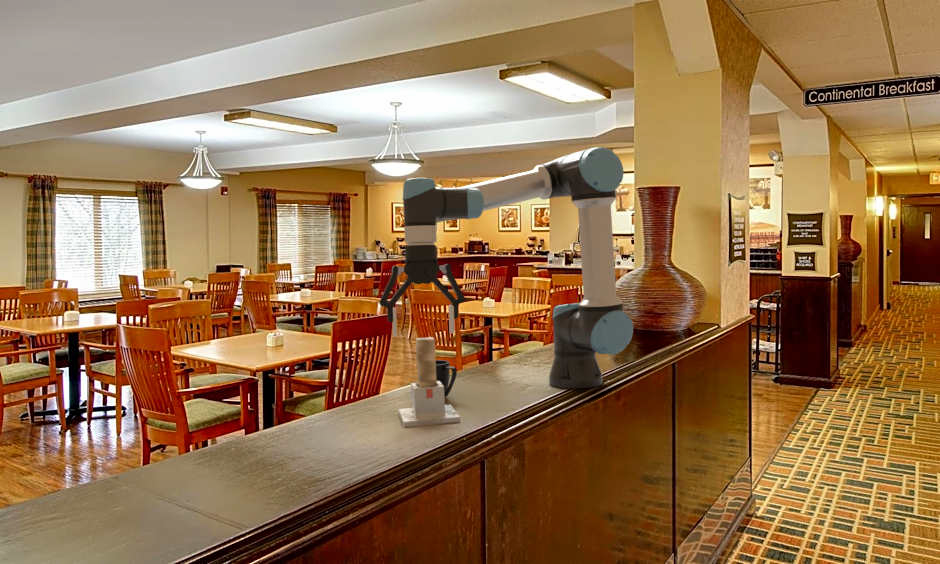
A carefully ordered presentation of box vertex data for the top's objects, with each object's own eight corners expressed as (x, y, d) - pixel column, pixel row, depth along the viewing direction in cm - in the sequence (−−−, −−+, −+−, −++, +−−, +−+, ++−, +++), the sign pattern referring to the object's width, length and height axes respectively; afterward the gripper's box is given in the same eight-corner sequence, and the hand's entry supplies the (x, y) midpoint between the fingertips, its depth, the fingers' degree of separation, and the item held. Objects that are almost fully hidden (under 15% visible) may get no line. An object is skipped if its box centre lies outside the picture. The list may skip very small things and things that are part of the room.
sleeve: (450, 409, 168) (449, 377, 168) (460, 421, 156) (458, 387, 155) (398, 413, 166) (397, 381, 165) (404, 427, 153) (402, 392, 153)
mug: (444, 404, 174) (442, 367, 174) (414, 398, 183) (412, 363, 182) (466, 398, 180) (465, 362, 180) (436, 392, 189) (435, 359, 188)
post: (436, 414, 163) (432, 336, 162) (439, 419, 159) (435, 339, 158) (418, 416, 162) (414, 338, 162) (420, 420, 158) (417, 340, 157)
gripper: (469, 243, 165) (472, 329, 166) (366, 246, 160) (369, 335, 161) (475, 242, 157) (478, 333, 158) (368, 245, 153) (371, 338, 153)
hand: (423, 334), depth 160 cm, fingers open, 13 cm apart
